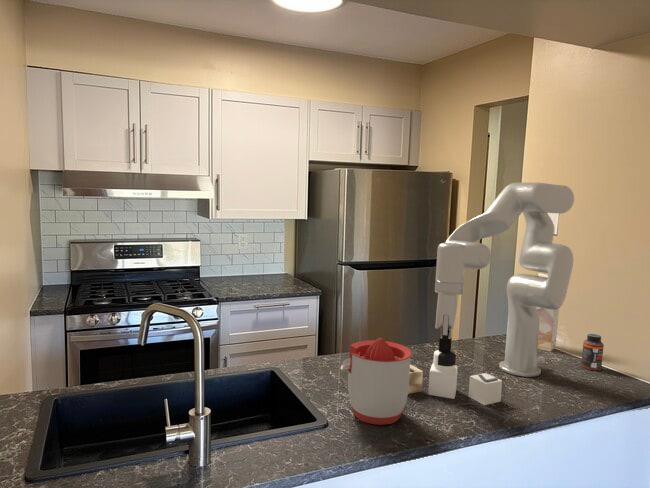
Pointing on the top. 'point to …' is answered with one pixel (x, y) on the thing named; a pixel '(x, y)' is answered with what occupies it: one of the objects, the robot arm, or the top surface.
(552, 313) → the coffeecake box
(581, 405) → the top surface
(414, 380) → the maple block one
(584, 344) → the supplement bottle
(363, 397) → the citrus juicer
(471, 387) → the white marked cube
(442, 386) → the medicine bottle
